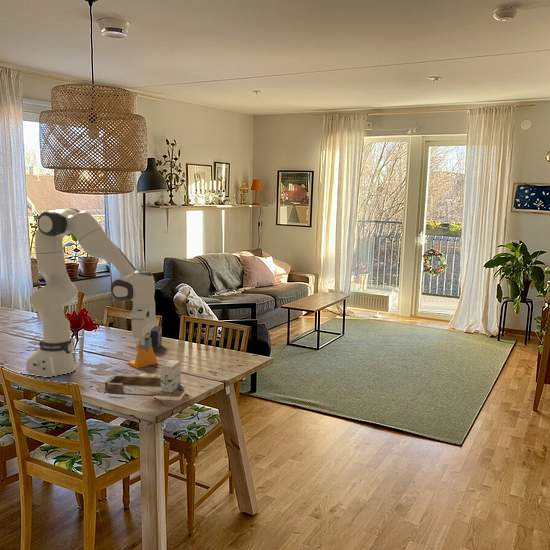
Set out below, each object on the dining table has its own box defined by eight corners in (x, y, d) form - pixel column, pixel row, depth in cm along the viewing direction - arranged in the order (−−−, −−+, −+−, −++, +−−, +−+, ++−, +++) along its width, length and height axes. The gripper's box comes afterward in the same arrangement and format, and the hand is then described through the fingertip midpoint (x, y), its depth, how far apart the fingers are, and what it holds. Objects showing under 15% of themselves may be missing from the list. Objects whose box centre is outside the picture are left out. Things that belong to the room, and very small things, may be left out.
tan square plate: (135, 381, 231) (135, 378, 230) (140, 375, 238) (140, 373, 237) (151, 382, 230) (151, 379, 230) (156, 376, 237) (156, 374, 237)
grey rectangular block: (139, 349, 224) (138, 335, 223) (142, 346, 228) (141, 332, 227) (148, 349, 224) (148, 335, 223) (151, 347, 228) (151, 333, 227)
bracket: (147, 362, 257) (146, 337, 255) (156, 365, 252) (156, 340, 250) (127, 367, 248) (127, 341, 246) (137, 371, 244) (136, 345, 242)
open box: (103, 393, 217) (103, 383, 216) (114, 383, 227) (114, 374, 227) (153, 396, 215) (152, 386, 214) (161, 386, 226) (161, 377, 225)
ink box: (170, 386, 226) (169, 359, 224) (181, 388, 224) (180, 360, 222) (160, 393, 217) (159, 365, 216) (171, 395, 216) (171, 366, 214)
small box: (157, 351, 274) (157, 330, 272) (144, 350, 274) (144, 330, 272) (162, 345, 284) (162, 325, 283) (150, 345, 284) (149, 325, 283)
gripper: (144, 304, 234) (145, 335, 236) (128, 315, 214) (129, 349, 216) (159, 304, 234) (159, 336, 236) (144, 315, 213) (145, 350, 215)
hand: (145, 342), depth 226 cm, fingers closed on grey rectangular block, 4 cm apart
